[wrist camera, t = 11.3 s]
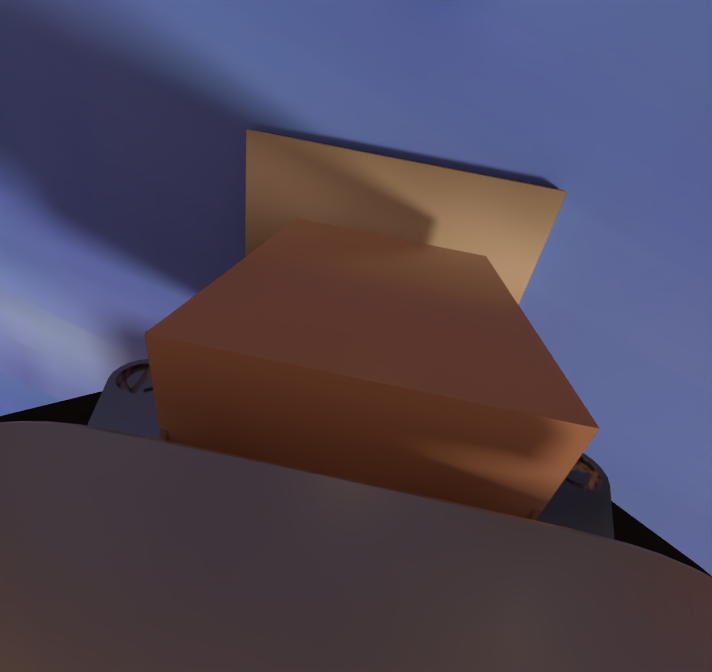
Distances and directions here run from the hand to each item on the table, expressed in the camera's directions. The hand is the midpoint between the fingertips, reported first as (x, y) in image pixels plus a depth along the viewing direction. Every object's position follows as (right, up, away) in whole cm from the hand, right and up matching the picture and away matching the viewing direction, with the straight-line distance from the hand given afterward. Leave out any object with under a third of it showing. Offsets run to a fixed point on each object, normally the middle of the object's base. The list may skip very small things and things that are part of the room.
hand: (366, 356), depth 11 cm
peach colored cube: (0, +1, +2) cm, 3 cm away
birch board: (+1, +2, +4) cm, 5 cm away
